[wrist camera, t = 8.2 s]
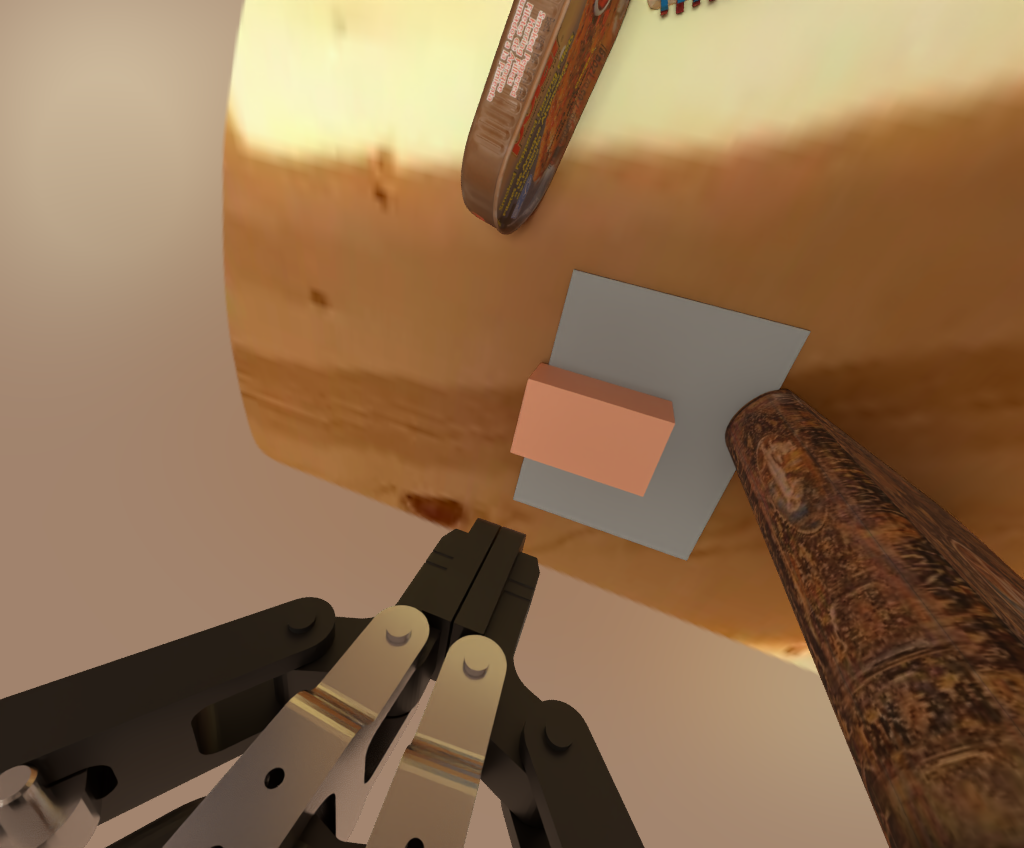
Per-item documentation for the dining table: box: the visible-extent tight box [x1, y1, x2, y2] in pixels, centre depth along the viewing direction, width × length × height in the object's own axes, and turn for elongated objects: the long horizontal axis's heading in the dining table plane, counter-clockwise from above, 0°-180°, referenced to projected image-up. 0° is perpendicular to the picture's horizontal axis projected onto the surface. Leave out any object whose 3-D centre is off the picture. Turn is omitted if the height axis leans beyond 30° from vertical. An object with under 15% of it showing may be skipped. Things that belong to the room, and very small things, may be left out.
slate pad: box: [513, 270, 811, 561], centre depth 33 cm, size 16×20×1 cm
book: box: [725, 389, 1024, 848], centre depth 20 cm, size 16×6×25 cm, turn 55°
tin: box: [461, 0, 630, 234], centre depth 23 cm, size 15×3×8 cm, turn 153°
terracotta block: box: [510, 363, 675, 497], centre depth 32 cm, size 4×6×10 cm
